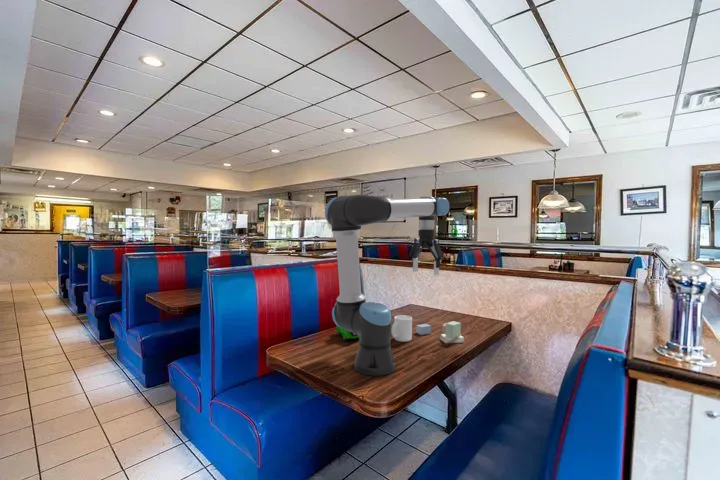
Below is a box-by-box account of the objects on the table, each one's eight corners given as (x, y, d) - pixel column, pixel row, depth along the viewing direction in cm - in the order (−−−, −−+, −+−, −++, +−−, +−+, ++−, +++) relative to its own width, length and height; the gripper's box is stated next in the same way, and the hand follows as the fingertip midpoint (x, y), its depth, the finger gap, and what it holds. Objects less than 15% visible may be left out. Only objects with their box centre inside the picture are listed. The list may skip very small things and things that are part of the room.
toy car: (351, 331, 173) (351, 312, 173) (363, 342, 157) (363, 320, 157) (335, 333, 170) (335, 313, 170) (345, 344, 154) (346, 322, 154)
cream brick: (445, 344, 157) (445, 338, 157) (440, 340, 163) (440, 334, 163) (463, 343, 159) (464, 337, 159) (458, 339, 165) (458, 333, 165)
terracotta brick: (450, 334, 170) (450, 326, 170) (442, 333, 172) (442, 325, 172) (453, 331, 176) (453, 323, 175) (445, 330, 177) (445, 322, 177)
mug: (397, 344, 154) (398, 322, 154) (384, 340, 160) (385, 318, 160) (415, 339, 162) (415, 317, 162) (402, 335, 168) (402, 314, 168)
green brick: (453, 338, 157) (453, 325, 157) (445, 335, 160) (446, 323, 160) (460, 335, 161) (460, 322, 161) (453, 333, 164) (453, 321, 164)
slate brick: (421, 335, 169) (421, 327, 169) (416, 333, 172) (416, 325, 172) (431, 333, 172) (431, 325, 172) (425, 331, 175) (426, 323, 175)
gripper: (452, 229, 158) (451, 275, 159) (413, 228, 178) (412, 269, 179) (441, 229, 154) (440, 276, 154) (402, 228, 174) (402, 270, 174)
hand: (425, 273), depth 167 cm, fingers open, 13 cm apart
